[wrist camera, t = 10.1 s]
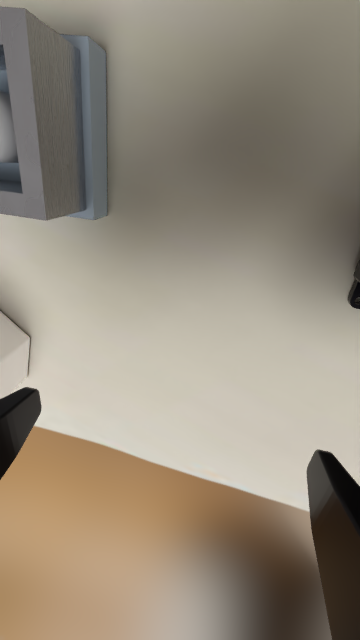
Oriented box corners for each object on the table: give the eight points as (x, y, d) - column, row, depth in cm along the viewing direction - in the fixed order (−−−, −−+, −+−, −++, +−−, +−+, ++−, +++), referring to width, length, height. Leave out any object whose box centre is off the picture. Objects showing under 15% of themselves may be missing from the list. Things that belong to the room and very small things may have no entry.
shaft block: (105, 51, 15) (34, -12, 10) (107, 215, 19) (56, 232, 14) (-36, 40, 16) (-172, -25, 11) (-7, 198, 20) (-97, 209, 14)
